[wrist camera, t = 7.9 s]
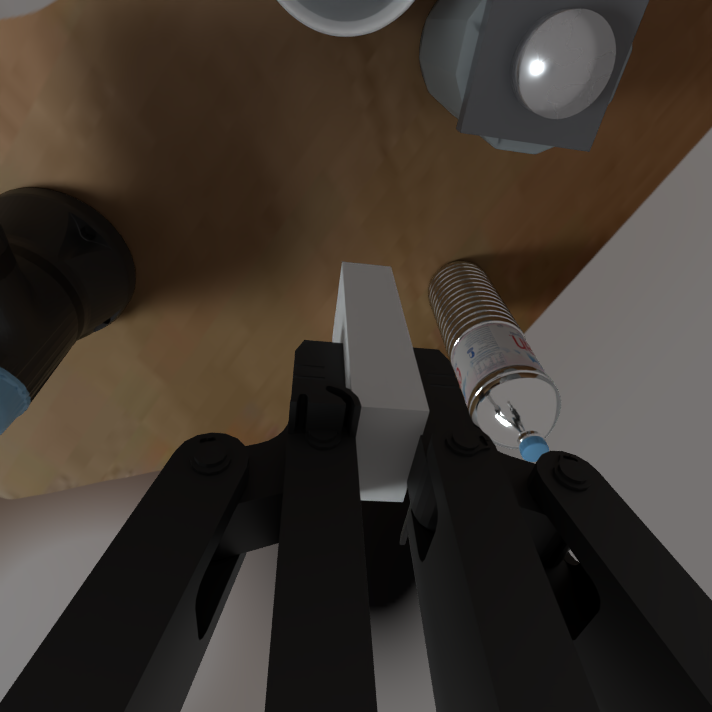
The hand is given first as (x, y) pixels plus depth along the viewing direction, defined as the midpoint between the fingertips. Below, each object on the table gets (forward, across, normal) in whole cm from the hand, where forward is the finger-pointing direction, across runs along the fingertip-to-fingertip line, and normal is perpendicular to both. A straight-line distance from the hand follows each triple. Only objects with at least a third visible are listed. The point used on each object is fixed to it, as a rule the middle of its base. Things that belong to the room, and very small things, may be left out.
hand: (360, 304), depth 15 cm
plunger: (+32, +11, +7) cm, 34 cm away
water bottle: (+34, +15, -15) cm, 40 cm away
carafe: (+34, +11, +8) cm, 37 cm away
